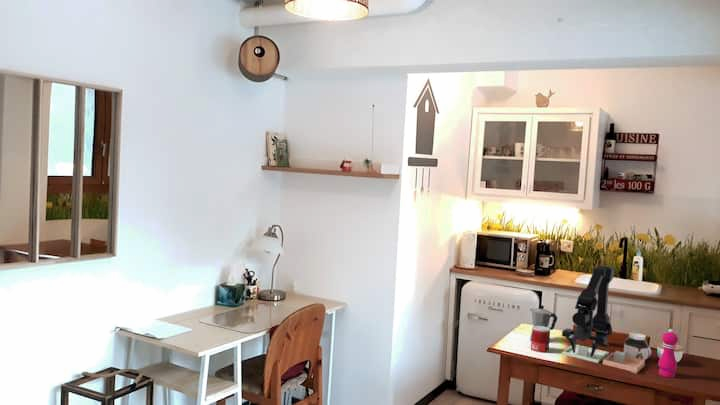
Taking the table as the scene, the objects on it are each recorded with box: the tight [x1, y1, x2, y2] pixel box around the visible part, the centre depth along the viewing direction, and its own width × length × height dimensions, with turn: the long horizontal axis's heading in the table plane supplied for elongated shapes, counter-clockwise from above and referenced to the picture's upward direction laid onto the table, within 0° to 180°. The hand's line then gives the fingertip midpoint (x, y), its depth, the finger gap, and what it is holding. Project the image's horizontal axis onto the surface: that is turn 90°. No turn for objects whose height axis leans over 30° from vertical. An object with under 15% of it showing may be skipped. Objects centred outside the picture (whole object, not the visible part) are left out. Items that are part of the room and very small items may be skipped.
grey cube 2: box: [578, 345, 590, 357], centre depth 273 cm, size 4×4×4 cm
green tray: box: [561, 344, 610, 364], centre depth 276 cm, size 16×16×2 cm
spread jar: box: [623, 332, 652, 361], centre depth 275 cm, size 12×11×12 cm
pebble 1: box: [613, 350, 626, 364], centre depth 268 cm, size 4×4×4 cm
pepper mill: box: [657, 328, 679, 378], centre depth 255 cm, size 7×7×20 cm
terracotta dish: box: [602, 352, 646, 375], centre depth 265 cm, size 14×14×2 cm
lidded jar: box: [656, 341, 685, 363], centre depth 273 cm, size 11×11×9 cm
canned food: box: [530, 325, 551, 353], centre depth 279 cm, size 8×8×11 cm
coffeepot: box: [529, 305, 558, 341], centre depth 294 cm, size 15×9×18 cm, turn 37°
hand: (582, 354), depth 273 cm, fingers open, 8 cm apart
